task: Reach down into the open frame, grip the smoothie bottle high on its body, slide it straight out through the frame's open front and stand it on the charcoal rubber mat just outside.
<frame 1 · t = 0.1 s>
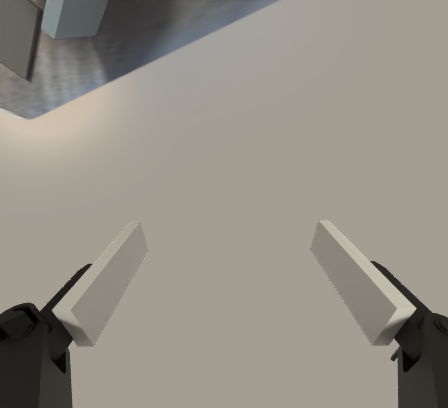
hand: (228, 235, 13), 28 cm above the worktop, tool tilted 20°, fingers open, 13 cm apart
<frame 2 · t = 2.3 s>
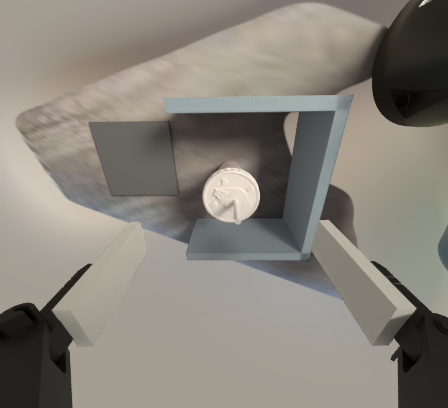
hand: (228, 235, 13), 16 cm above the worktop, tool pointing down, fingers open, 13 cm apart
smoothie: (229, 172, 28), on the worktop
open frame: (236, 172, 28), on the worktop
mat: (139, 161, 27), on the worktop
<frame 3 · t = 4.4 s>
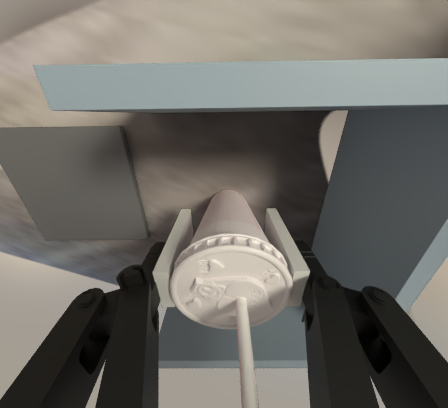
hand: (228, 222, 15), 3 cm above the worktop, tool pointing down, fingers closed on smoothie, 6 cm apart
smoothie: (228, 205, 18), on the worktop, touching gripper
open frame: (238, 206, 18), on the worktop
mat: (81, 189, 17), on the worktop
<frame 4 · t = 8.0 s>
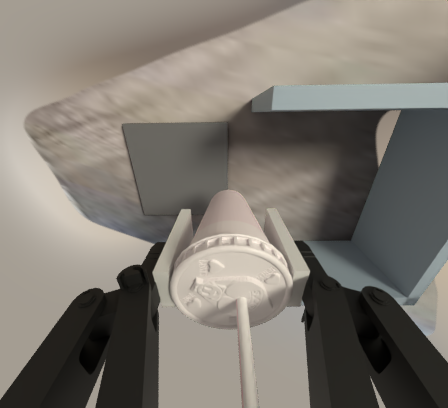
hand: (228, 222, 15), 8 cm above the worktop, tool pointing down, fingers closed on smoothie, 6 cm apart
smoothie: (228, 205, 18), point 5 cm above the worktop, touching gripper
open frame: (303, 187, 22), on the worktop
mat: (182, 172, 21), on the worktop
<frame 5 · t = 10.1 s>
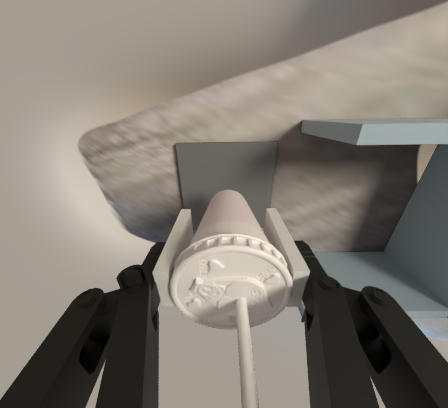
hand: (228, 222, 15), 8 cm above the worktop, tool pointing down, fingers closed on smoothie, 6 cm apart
smoothie: (228, 206, 18), point 5 cm above the worktop, touching gripper
open frame: (343, 201, 23), on the worktop
mat: (226, 188, 22), on the worktop
when the fingers open (4 cm above the worktop, at t = 11.9 s): smoothie stays where it is, resting on mat.
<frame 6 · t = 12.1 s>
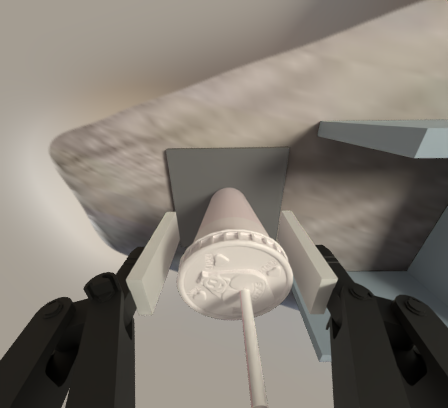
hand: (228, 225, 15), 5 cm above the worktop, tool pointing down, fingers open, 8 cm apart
smoothie: (228, 203, 18), resting on mat
open frame: (364, 216, 19), on the worktop
mat: (227, 201, 19), on the worktop
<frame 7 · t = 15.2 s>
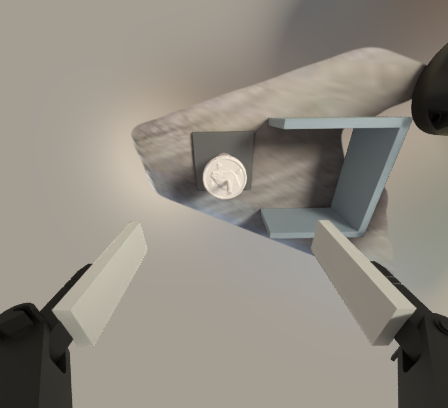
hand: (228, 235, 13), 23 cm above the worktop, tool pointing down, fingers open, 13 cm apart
smoothie: (224, 162, 34), resting on mat
open frame: (299, 171, 35), on the worktop
mat: (223, 162, 34), on the worktop
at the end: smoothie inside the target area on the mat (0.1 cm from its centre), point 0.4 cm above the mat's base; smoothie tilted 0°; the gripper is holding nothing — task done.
